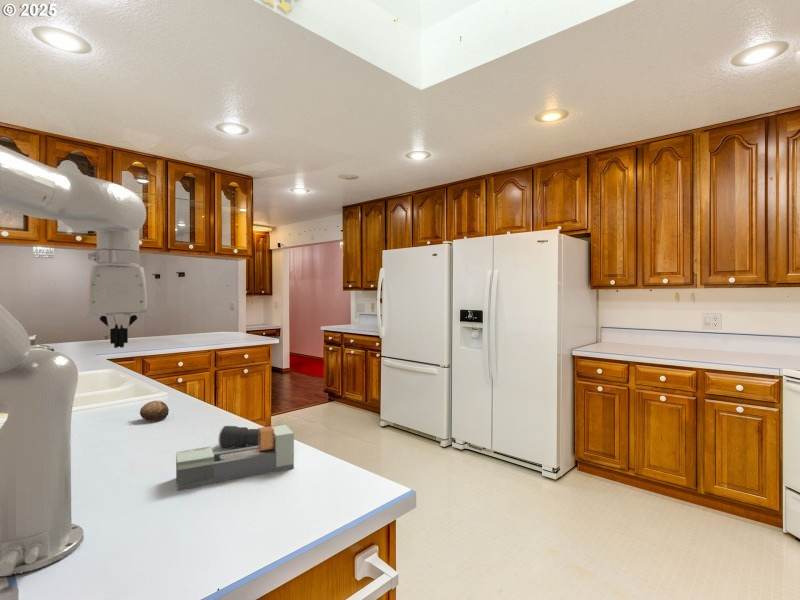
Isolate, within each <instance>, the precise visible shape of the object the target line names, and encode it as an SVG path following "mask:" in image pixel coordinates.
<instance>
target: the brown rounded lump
mask: <svg viewBox="0 0 800 600" xmlns="http://www.w3.org/2000/svg"><path fill="white" fill-rule="evenodd" d="M169 410H170V409H169V406H168V405H167V404H166V403H165V402H164V401H161V400H152V401H148V402H147V403H145V404H144V405H143V406H141V408H140V411H139V415H140V417H141V418H142V419H143V420H145V422H150V423H157V422H161V421H163V420H166V418H167V417H168V415H169Z"/></svg>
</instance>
